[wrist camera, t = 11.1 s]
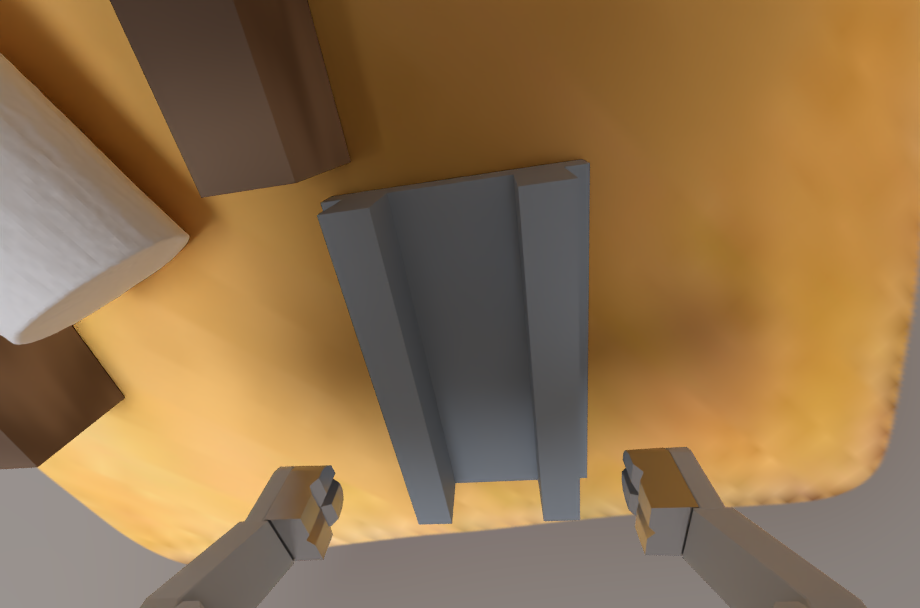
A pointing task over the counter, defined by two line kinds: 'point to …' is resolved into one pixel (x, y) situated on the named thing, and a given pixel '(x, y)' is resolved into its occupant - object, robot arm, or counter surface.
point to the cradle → (474, 327)
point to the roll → (66, 219)
